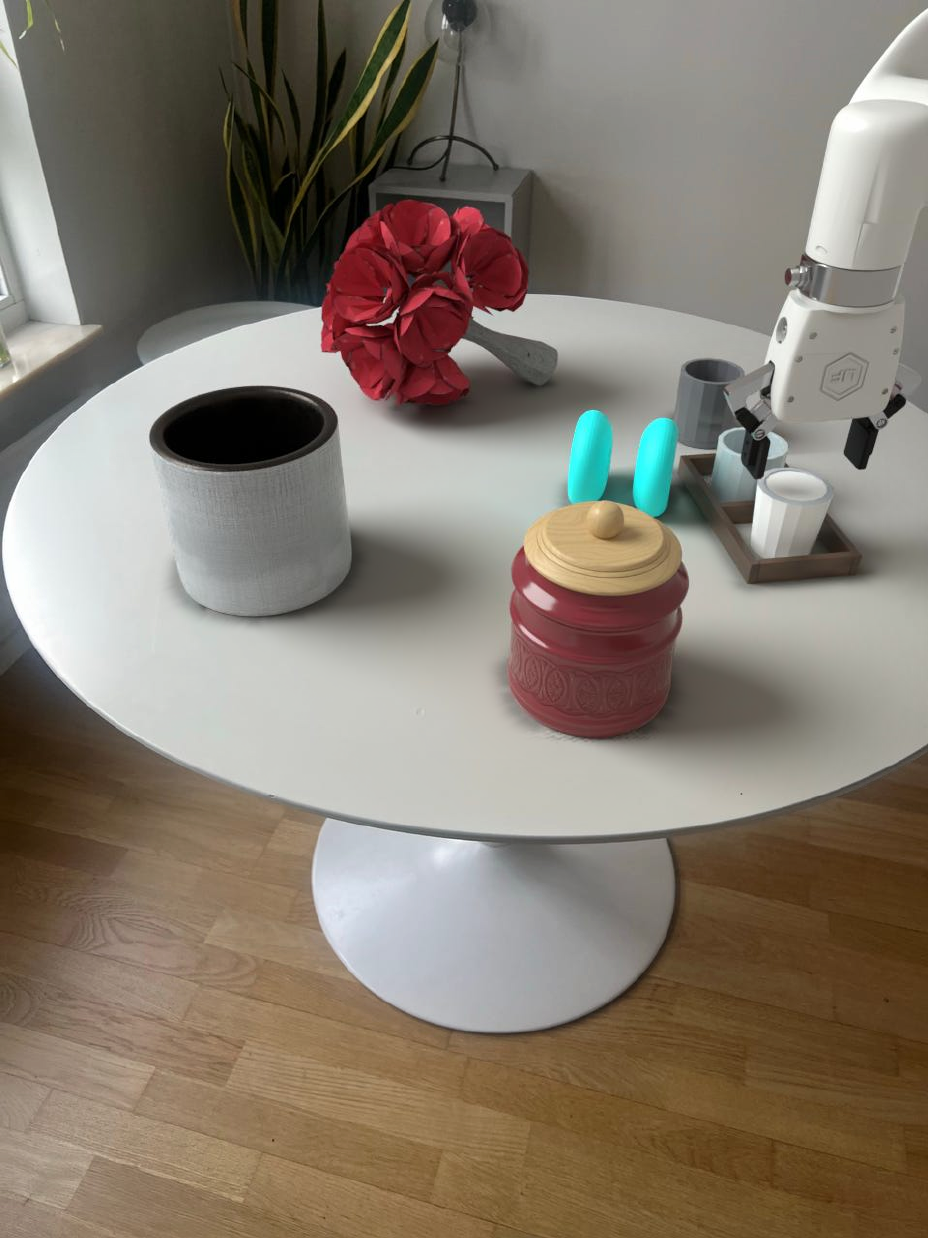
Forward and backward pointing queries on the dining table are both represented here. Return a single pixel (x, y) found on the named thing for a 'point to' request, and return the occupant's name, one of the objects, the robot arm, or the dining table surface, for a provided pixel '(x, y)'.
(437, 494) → the dining table surface
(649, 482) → the cyan rounded forked piece
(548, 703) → the kitchen canister
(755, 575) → the glass rack
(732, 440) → the glass
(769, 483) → the white cup
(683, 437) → the grey cup
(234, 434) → the planter
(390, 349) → the bouquet
